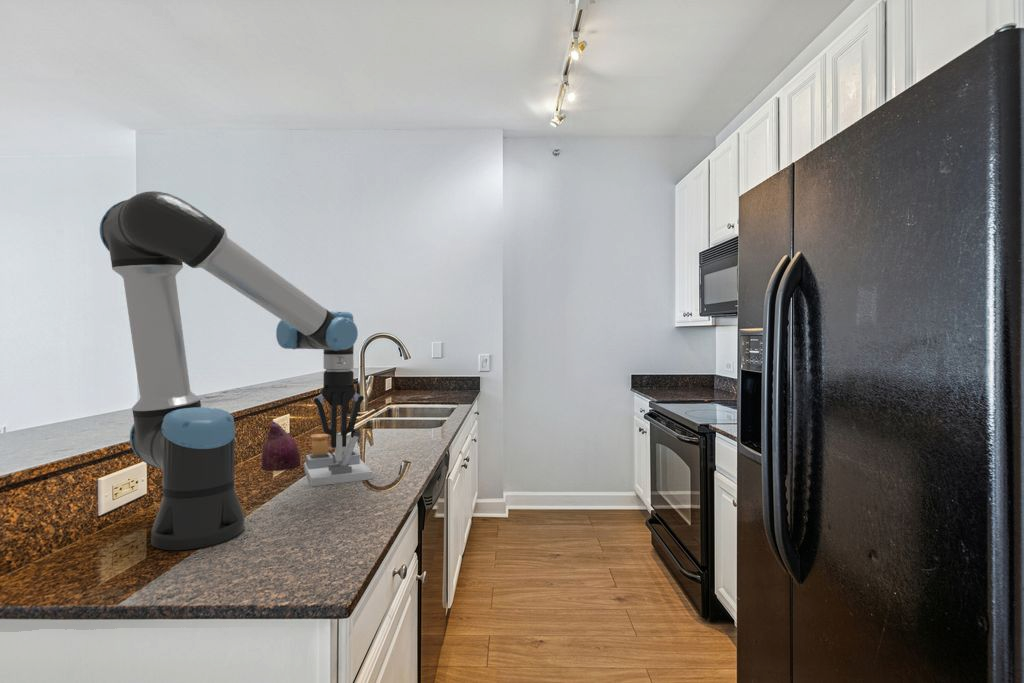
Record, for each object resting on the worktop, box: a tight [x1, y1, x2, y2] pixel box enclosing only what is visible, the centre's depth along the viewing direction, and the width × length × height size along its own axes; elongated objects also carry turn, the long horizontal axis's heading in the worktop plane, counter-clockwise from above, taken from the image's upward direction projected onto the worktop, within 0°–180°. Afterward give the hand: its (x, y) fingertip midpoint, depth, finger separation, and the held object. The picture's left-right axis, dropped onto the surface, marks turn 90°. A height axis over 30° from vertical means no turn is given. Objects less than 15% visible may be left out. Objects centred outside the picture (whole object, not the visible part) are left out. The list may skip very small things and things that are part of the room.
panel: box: [303, 449, 373, 487], centre depth 141 cm, size 15×18×4 cm
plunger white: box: [337, 432, 351, 453], centre depth 146 cm, size 5×5×5 cm
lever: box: [339, 428, 362, 467], centre depth 138 cm, size 3×3×11 cm
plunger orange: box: [310, 433, 329, 455], centre depth 143 cm, size 5×5×5 cm
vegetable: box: [261, 420, 301, 472], centre depth 148 cm, size 10×10×15 cm
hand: (338, 459), depth 137 cm, fingers closed
